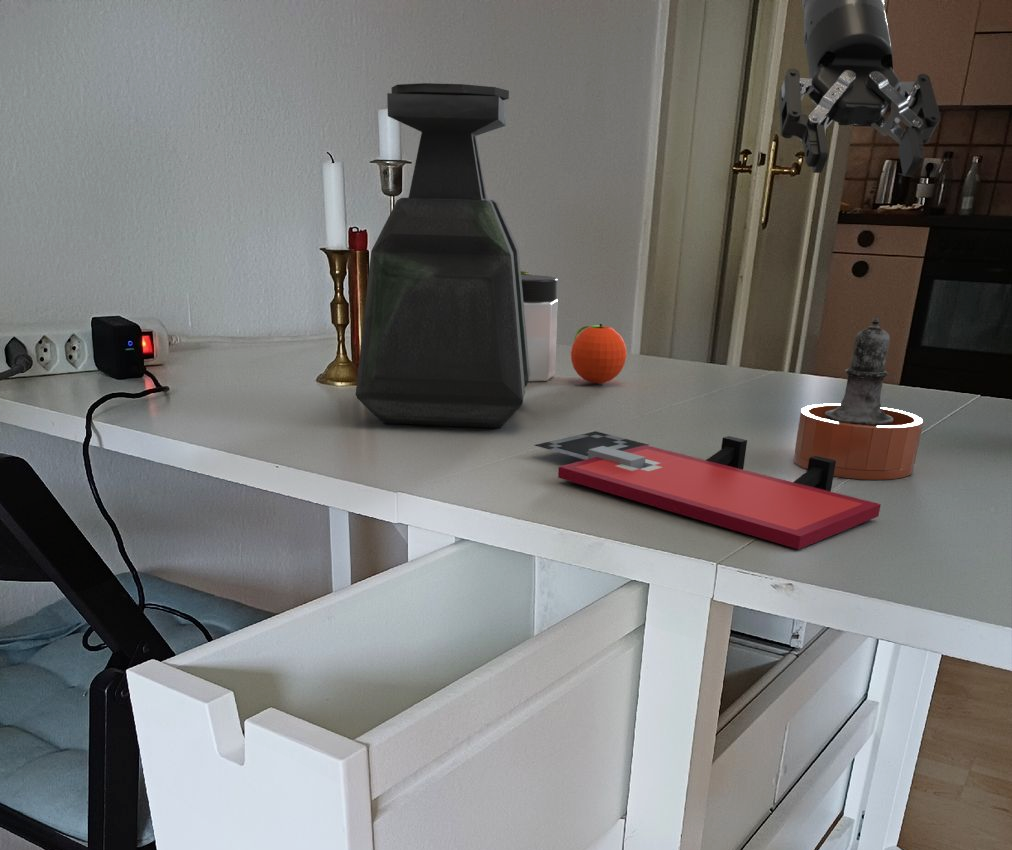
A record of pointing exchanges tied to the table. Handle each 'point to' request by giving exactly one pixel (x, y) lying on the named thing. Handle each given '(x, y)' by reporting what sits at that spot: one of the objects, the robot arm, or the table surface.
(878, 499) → the table surface
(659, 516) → the table surface
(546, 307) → the jar
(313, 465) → the table surface
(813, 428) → the round brown bowl
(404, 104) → the bottle
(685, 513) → the red board with handle
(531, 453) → the table surface
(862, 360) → the salt shaker
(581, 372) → the clementine
